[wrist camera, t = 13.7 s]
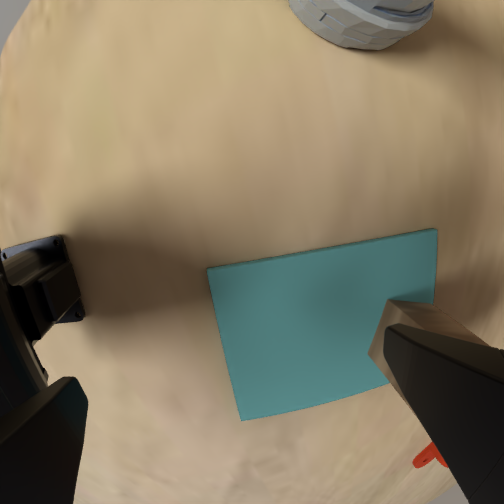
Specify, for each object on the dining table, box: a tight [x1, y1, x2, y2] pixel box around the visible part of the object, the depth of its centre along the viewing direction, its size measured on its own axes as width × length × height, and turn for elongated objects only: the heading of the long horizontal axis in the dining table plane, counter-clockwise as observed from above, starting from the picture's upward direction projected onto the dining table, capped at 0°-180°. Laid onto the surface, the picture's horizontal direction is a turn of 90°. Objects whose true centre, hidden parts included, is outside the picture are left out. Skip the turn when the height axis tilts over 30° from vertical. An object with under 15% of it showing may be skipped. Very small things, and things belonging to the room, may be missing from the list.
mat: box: [207, 228, 437, 421], centre depth 22 cm, size 18×14×1 cm
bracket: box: [413, 442, 449, 468], centre depth 29 cm, size 12×4×5 cm, turn 144°
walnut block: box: [367, 299, 491, 417], centre depth 17 cm, size 5×5×13 cm
